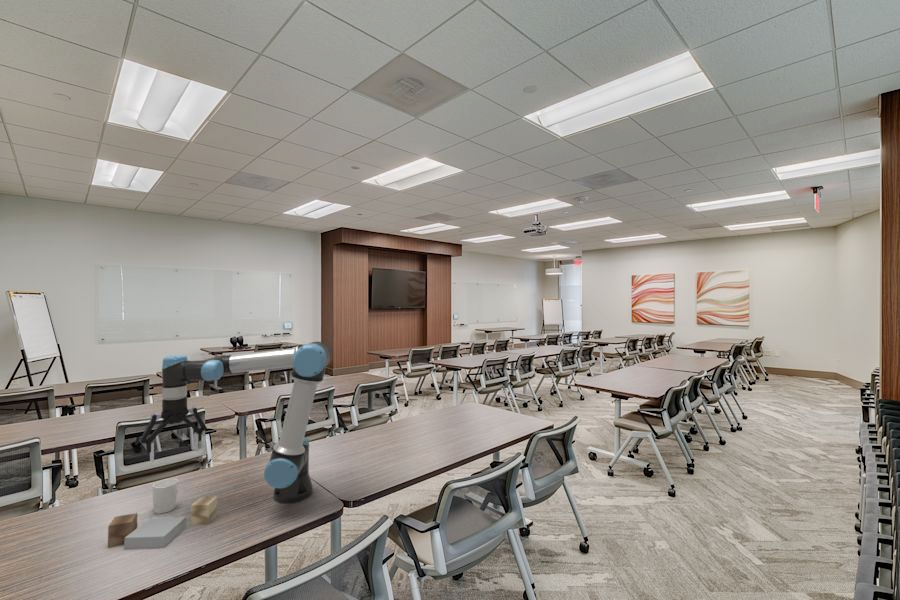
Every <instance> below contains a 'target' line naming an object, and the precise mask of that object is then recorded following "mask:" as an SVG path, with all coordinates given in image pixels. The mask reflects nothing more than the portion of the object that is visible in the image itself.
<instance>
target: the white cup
mask: <svg viewBox="0 0 900 600" xmlns="http://www.w3.org/2000/svg"><path fill="white" fill-rule="evenodd" d="M178 484H179V479H178V478H165V479H162V480H159V481H157V482H154V483H153V484H152V501H153V502H152V503H153V512H154V514H166V513H169V512H171V511H172V510H175V508H177V499H178V486H179V485H178Z"/></svg>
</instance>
